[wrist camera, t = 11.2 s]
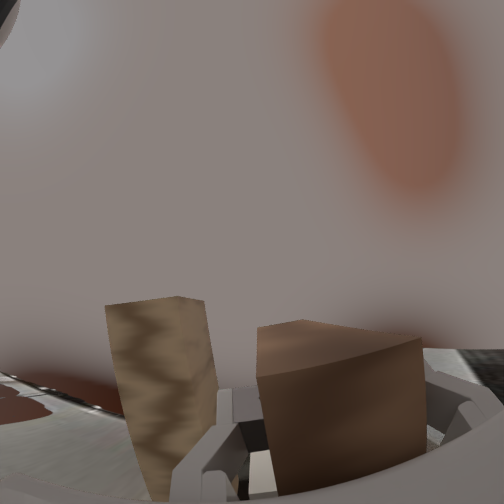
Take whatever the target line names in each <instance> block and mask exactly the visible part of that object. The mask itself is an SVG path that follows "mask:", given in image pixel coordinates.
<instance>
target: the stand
mask: <svg viewBox="0 0 504 504" xmlns="http://www.w3.org/2000/svg"><path fill="white" fill-rule="evenodd" d="M105 312H106V321H107V328H108V335H109V341H110V348H111V354H112V359H113V365H114V370H115V375H116V380H117V385H118V390H119V394H120V399H121V403H122V407H123V411H124V415H125V419H126V423H127V426H128V430H129V434H130V437H131V441H132V444H133V447H134V451H135V454H136V457H137V460H138V463H139V466H140V469H141V472H142V475H143V478H144V481H145V483H146V486H147V489H148V491H149V494H150V497H151V499H152V501H156V502H169V496H170V487H171V479H172V471H173V469H174V468H175V467H176V466H177V465H178V464H179V463H180V462H181V461H182V460H183V458H184V457H185V456H186V455H187V454H188V453H189V452H190V451H191V449H192V448H193V447H194V446H195V445H196V444H197V443H198V441H199V440H200V439H201V438H202V437H203V436H204V435H205V433H206V432H207V431H208V430H209V429H210V427H211V426H213V425H216V418H217V392H218V390H219V386H218V381H217V376H216V370H215V365H214V359H213V354H212V348H211V342H210V336H209V330H208V323H207V317H206V311H205V304H204V301H202V300H196V299H190V298H185V297H180V296H174V297H168V298H160V299H152V300H145V301H138V302H130V303H122V304H114V305H106V306H105ZM238 484H239V479H238V475H236V476H235V478H234V480H233V481H232V483H231V485H232V487H233V489H234V490H235V492H236V494H237V493H238Z"/></svg>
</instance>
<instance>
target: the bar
mask: <svg viewBox="0 0 504 504" xmlns="http://www.w3.org/2000/svg"><path fill="white" fill-rule="evenodd" d="M256 367H257V368H256V379H257V385H258V390H259V396H260V402H261V407H262V413H263V418H264V424H265V429H266V435H267V440H268V445H269V451H270V456H271V461H272V466H273V472H274V477H275V482H276V487H277V492H278V497H279V496H286V495H291V494H297V493H302V492H307V491H312V490H317V489H321V488H325V487H329V486H333V485H337V484H341V483H345V482H348V481H352V480H355V479H358V478H362V477H365V476H368V475H371V474H374V473H377V472H380V471H383V470H385V469H388V468H391V467H394V466H396V465H399V464H401V463H404V462H406V461H409V460H411V459H414V458H416V457H418V456H421V455H423V454H425V453H426V444H427V409H426V385H425V370H424V359H423V349H422V340H421V337H415V336H406V335H399V334H391V333H384V332H377V331H370V330H364V329H357V328H350V327H344V326H338V325H332V324H325V323H320V322H314V321H309V320H297V321H292V322H286V323H282V324H276V325H270V326H264V327H258V328H257V365H256Z"/></svg>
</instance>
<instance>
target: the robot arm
mask: <svg viewBox="0 0 504 504" xmlns="http://www.w3.org/2000/svg"><path fill="white" fill-rule="evenodd" d="M19 7H20V0H0V48H1V47H2V45H3V44H4V42H5V41H6V39H7V38H8V36H9V34H10V32H11V30H12V28H13V26H14V24H15V21H16V19H17V15H18V12H19ZM423 359H424V358H423ZM424 370H425V385H426V409H427V424H428V425H429V426H431V427H433V428H435V429H436V430H438V431H440V432H442V433H443V434H445V436H444V438H443V440H442V442H441V444H440V446H439V447H438V448H436V449H434V450H432V451H429V452H427V453H425V454H423V455H421V456H418V457H416V458H414V459H411V460H409V461H406V462H404V463H401V464H399V465H396V466H394V467H391V468H388V469H385V470H383V471H380V472H377V473H374V474H371V475H368V476H365V477H362V478H358V479H355V480H352V481H348V482H345V483H341V484H337V485H333V486H329V487H325V488H321V489H317V490H312V491H307V492H302V493H297V494H291V495H286V496H279V497H272V498H265V499H256V500H247V501H240V500H239V498H238V496H237V494H236V492H235V490H234V489H233V487H232V485H231V483H232V481H233V480H234V478H235V476H236V475H237V473H238V471H239V470H240V468H241V466H242V465H243V463H244V461H245V460H246V458H247V456H248V453H252V452H259V451H265V450H269V445H268V440H267V435H266V429H265V424H264V418H263V413H262V407H261V402H260V396H259V390H258V385H255V386H247V387H238V388H233V389H222V390H218V392H217V418H216V425H213V426H211V427H210V429H209V430H208V431H207V432H206V433H205V435H204V436H203V437H202V438H201V439H200V440H199V441H198V443H197V444H196V445H195V446H194V447H193V448H192V449H191V451H190V452H189V453H188V454H187V455H186V456H185V457H184V458H183V460H182V461H181V462H180V463H179V464H178V465H177V466H176V467H175V468H174V469H173V471H172V479H171V487H170V496H169V502H156V501H144V500H134V499H126V498H119V497H112V496H106V495H100V494H95V493H90V492H85V491H80V490H76V489H72V488H68V487H64V486H60V485H56V484H53V483H49V482H46V481H43V480H39V479H36V478H33V477H30V476H28V475H25V474H22V473H12V474H10V475H8V476H6V477H5V478H3V479H1V480H0V504H504V406H503V404H502V403H501V402H500V401H499V400H498V398H497V397H496V396H495V395H494V394H493V393H492V391H491V390H490V389H489V388H487V387H484V386H481V385H478V384H475V383H472V382H469V381H466V380H463V379H460V378H457V377H454V376H451V375H448V374H446V373H443V372H440V371H437V372H435V371H434V370H433V369H432V368H431V366H430V365H429V364H428V363H427V361H426V360H425V359H424Z"/></svg>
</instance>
